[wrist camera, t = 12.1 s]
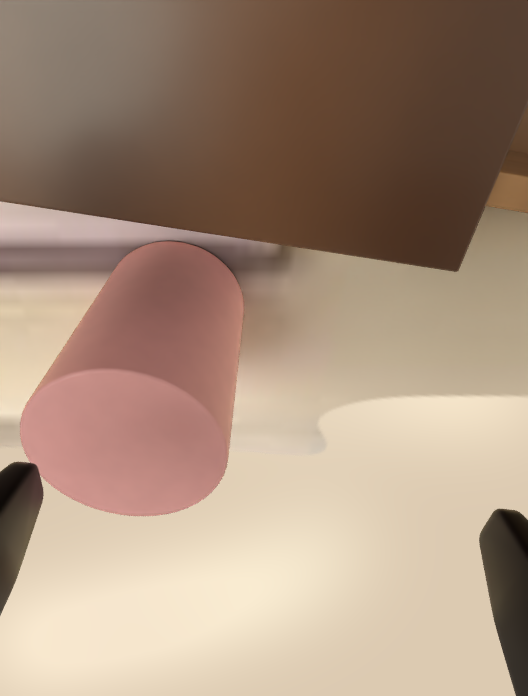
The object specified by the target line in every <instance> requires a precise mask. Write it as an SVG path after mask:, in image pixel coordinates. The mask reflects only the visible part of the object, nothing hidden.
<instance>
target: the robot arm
mask: <svg viewBox="0 0 528 696" xmlns="http://www.w3.org/2000/svg"><path fill="white" fill-rule="evenodd" d="M42 500H43V487H42V482H41V478H40V474H39V469H38V466H37V465H36V464H34V463H26V462H14V463H12V464H10V465H8V466H7V467H6V468H4V469H3V470H2V471H1V472H0V615H1V613H2V610H3V608H4V606H5V604H6V602H7V600H8V597H9V595H10V593H11V591H12V588H13V586H14V584H15V581H16V579H17V576H18V573H19V570H20V567H21V564H22V561H23V558H24V555H25V552H26V549H27V546H28V543H29V540H30V537H31V534H32V531H33V528H34V525H35V522H36V519H37V516H38V513H39V510H40V507H41V504H42ZM479 541H480V549H481V554H482V560H483V565H484V570H485V576H486V581H487V586H488V592H489V597H490V602H491V607H492V612H493V617H494V622H495V625H496V629H497V633H498V636H499V640H500V643H501V646H502V650H503V653H504V657H505V660H506V663H507V667H508V670H509V673H510V677H511V680H512V684H513V687H514V691H515V694H516V696H528V520H527V519H526V518H525V517H524V516H523V515H522V514H521V513H520V512H518V511H515V510H507V509H497V510H495V511H494V512H493V513H492V515H491V517H490V518H489V520H488V521H487V523H486V525H485V526H484V528H483V529H482V531H481V533H480V539H479Z"/></svg>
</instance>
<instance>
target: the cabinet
mask: <svg viewBox="0 0 528 696" xmlns="http://www.w3.org/2000/svg"><path fill="white" fill-rule="evenodd" d="M527 106H528V0H0V201H2V202H9V203H15V204H22V205H28V206H35V207H41V208H47V209H54V210H60V211H67V212H73V213H80V214H86V215H93V216H99V217H106V218H112V219H118V220H125V221H131V222H138V223H144V224H151V225H157V226H164V227H170V228H177V229H183V230H189V231H196V232H202V233H209V234H215V235H222V236H228V237H235V238H241V239H248V240H254V241H260V242H267V243H273V244H280V245H286V246H293V247H299V248H306V249H312V250H319V251H325V252H331V253H338V254H344V255H351V256H357V257H364V258H370V259H377V260H383V261H390V262H396V263H403V264H409V265H415V266H422V267H428V268H435V269H441V270H448V271H454V272H457V271H458V270H459V268H460V266H461V263H462V261H463V259H464V256H465V254H466V251H467V249H468V247H469V244H470V242H471V239H472V237H473V235H474V232H475V230H476V228H477V225H478V223H479V220H480V218H481V216H482V213H483V211H484V208H485V206H486V204H487V201H488V199H489V196H490V194H491V192H492V189H493V187H494V185H495V182H496V180H497V177H498V175H499V173H500V170H501V168H502V165H503V163H504V161H505V158H506V156H507V154H508V151H509V149H510V146H511V144H512V142H513V139H514V137H515V134H516V132H517V130H518V127H519V125H520V122H521V120H522V118H523V115H524V113H525V111H526V108H527Z"/></svg>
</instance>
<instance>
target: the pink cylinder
mask: <svg viewBox="0 0 528 696" xmlns="http://www.w3.org/2000/svg"><path fill="white" fill-rule="evenodd" d="M243 316H244V301H243V295H242V292H241V289H240V286H239V284H238V282H237V280H236V278H235V277H234V275H233V274H232V272H231V271H230V270H229V269H228V267H227V266H226V265H225V264H224V263H223V262H221V261H220V260H219V259H218V258H217V257H215V256H214V255H212V254H211V253H209V252H207V251H205V250H204V249H201V248H199V247H197V246H194V245H190V244H187V243H182V242H173V241H164V242H155V243H151V244H147V245H144V246H142V247H139V248H137V249H135V250H134V251H132V252H130V253H129V254H128V255H127V256H125V257H124V258H123V259H122V260H121V261H120V262H119V264H118V265H117V267H116V268H115V270H114V271H113V273H112V274H111V276H110V277H109V279H108V280H107V282H106V283H105V285H104V286H103V288H102V289H101V291H100V292H99V294H98V295H97V297H96V299H95V300H94V302H93V303H92V305H91V306H90V308H89V309H88V311H87V312H86V314H85V315H84V317H83V318H82V320H81V321H80V323H79V324H78V326H77V327H76V329H75V330H74V332H73V334H72V335H71V337H70V338H69V340H68V341H67V343H66V344H65V346H64V347H63V349H62V350H61V352H60V353H59V355H58V356H57V358H56V359H55V361H54V362H53V364H52V366H51V367H50V369H49V370H48V372H47V373H46V375H45V376H44V378H43V379H42V381H41V382H40V384H39V385H38V387H37V388H36V390H35V391H34V393H33V394H32V396H31V397H30V399H29V401H28V402H27V404H26V405H25V408H24V410H23V413H22V417H21V422H20V436H21V442H22V446H23V448H24V451H25V454H26V456H27V457H28V459H29V461H30V463H34V464H36V465H37V466H38V469H39V474H40V475H41V476H42V477H43V478H44V479H45V480H46V481H47V482H48V483H49V484H50V485H52V486H53V487H54V488H55V489H57V490H58V491H60V492H61V493H63V494H64V495H66V496H68V497H70V498H72V499H73V500H75V501H78V502H80V503H82V504H84V505H87V506H89V507H92V508H95V509H98V510H102V511H105V512H109V513H115V514H120V515H129V516H156V515H163V514H169V513H173V512H177V511H180V510H183V509H185V508H188V507H190V506H192V505H194V504H196V503H198V502H199V501H201V500H202V499H204V498H205V497H207V496H208V495H209V494H210V493H211V492H212V491H213V490H214V489H215V488H216V486H217V485H218V484H219V482H220V481H221V479H222V477H223V476H224V473H225V470H226V467H227V462H228V455H229V446H230V437H231V427H232V418H233V409H234V399H235V390H236V381H237V372H238V362H239V353H240V344H241V334H242V325H243Z"/></svg>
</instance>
